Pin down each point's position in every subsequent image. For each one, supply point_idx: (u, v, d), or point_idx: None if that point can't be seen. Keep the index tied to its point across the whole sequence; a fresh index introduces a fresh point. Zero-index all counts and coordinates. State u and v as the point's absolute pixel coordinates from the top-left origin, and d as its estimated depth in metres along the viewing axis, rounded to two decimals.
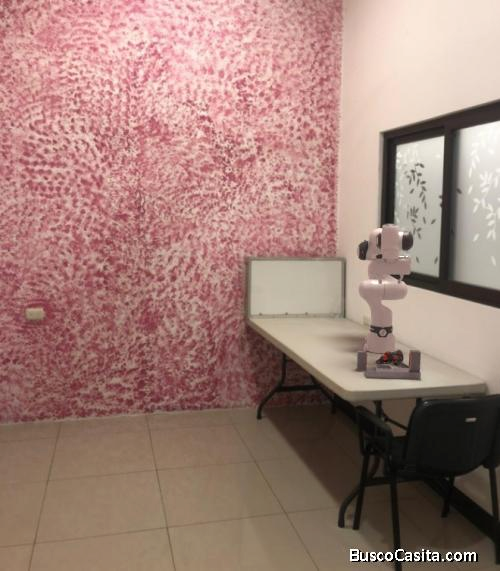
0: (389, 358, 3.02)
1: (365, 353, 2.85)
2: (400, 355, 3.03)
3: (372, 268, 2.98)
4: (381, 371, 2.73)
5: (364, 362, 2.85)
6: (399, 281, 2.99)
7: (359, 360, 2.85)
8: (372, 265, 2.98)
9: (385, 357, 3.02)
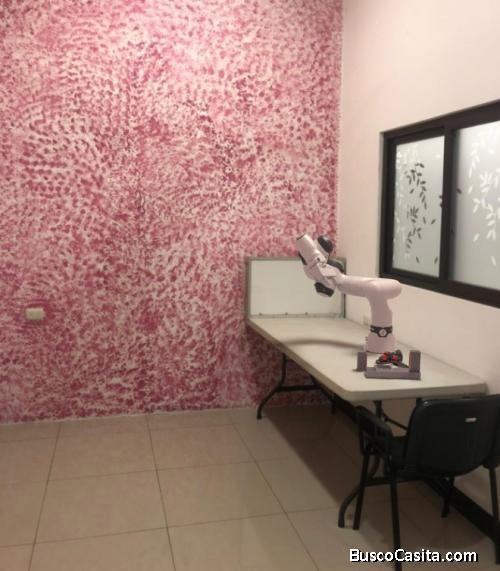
0: (388, 358, 3.02)
1: (365, 353, 2.85)
2: (399, 355, 3.03)
3: (320, 270, 2.86)
4: (381, 371, 2.73)
5: (364, 362, 2.85)
6: (336, 282, 2.97)
7: (359, 360, 2.85)
8: (319, 268, 2.86)
9: (384, 357, 3.02)
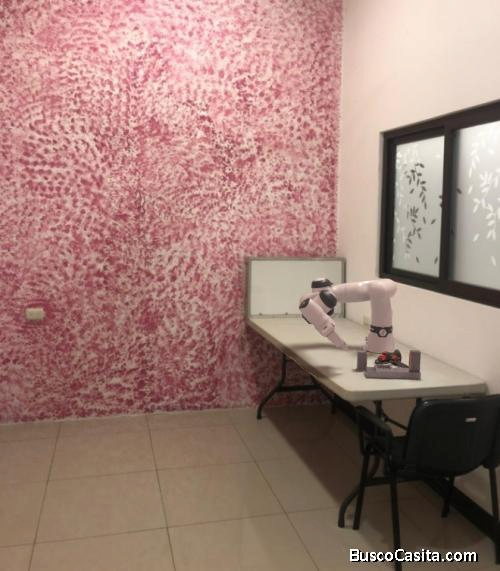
0: (387, 358, 3.03)
1: (365, 353, 2.85)
2: (398, 355, 3.03)
3: (340, 337, 2.77)
4: (381, 371, 2.73)
5: (364, 362, 2.85)
6: None
7: (359, 360, 2.85)
8: (338, 335, 2.77)
9: (383, 357, 3.02)
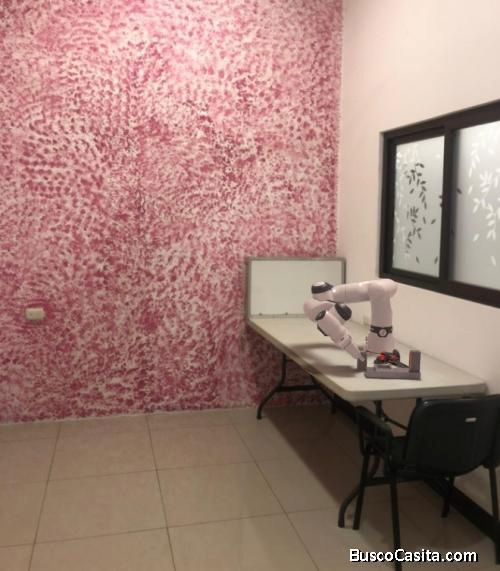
0: (386, 358, 3.03)
1: (365, 353, 2.85)
2: (397, 355, 3.03)
3: (357, 349, 2.78)
4: (381, 371, 2.73)
5: (364, 362, 2.85)
6: None
7: (359, 360, 2.85)
8: (355, 346, 2.78)
9: (382, 357, 3.02)
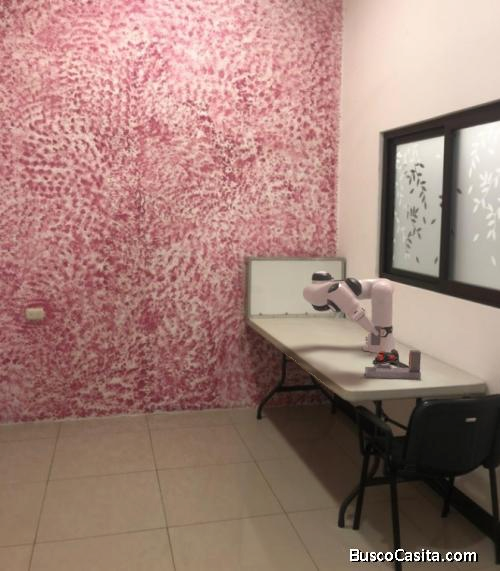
0: (385, 358, 3.03)
1: (379, 327, 2.75)
2: (395, 354, 3.04)
3: None
4: (381, 371, 2.73)
5: (378, 336, 2.76)
6: None
7: (373, 334, 2.76)
8: (369, 319, 2.68)
9: (381, 357, 3.02)
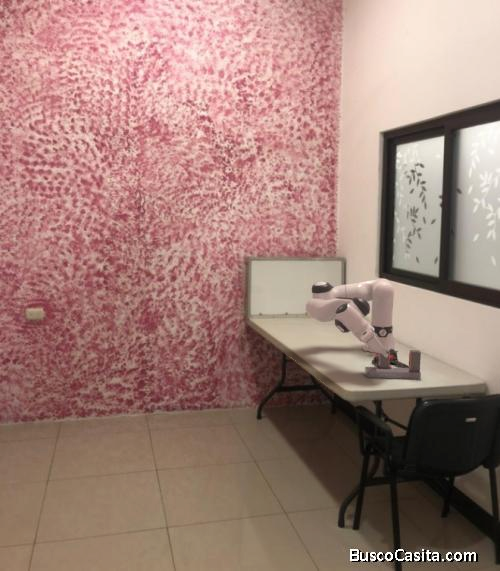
0: None
1: (388, 352, 2.74)
2: (394, 354, 3.04)
3: None
4: (381, 371, 2.73)
5: (387, 361, 2.75)
6: None
7: (381, 359, 2.75)
8: (378, 341, 2.67)
9: None
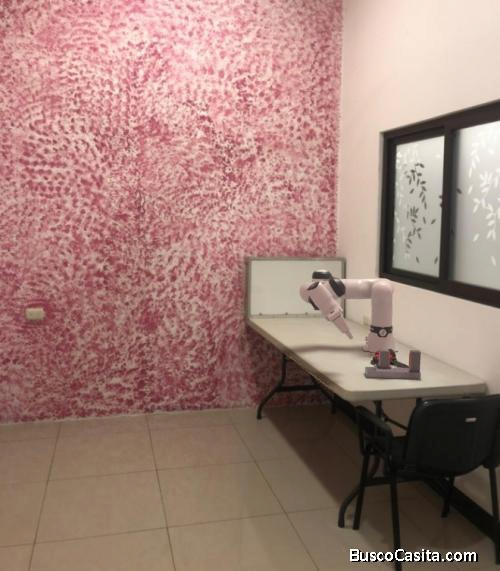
0: None
1: (388, 352, 2.74)
2: (392, 354, 3.05)
3: None
4: (381, 371, 2.73)
5: (387, 361, 2.75)
6: None
7: (381, 359, 2.75)
8: (344, 320, 2.68)
9: None
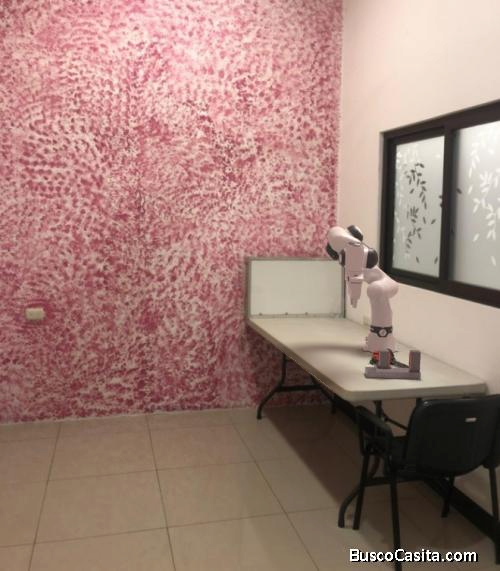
0: None
1: (388, 352, 2.74)
2: (390, 354, 3.05)
3: None
4: (381, 371, 2.73)
5: (387, 361, 2.75)
6: None
7: (381, 359, 2.75)
8: None
9: (377, 357, 3.02)
